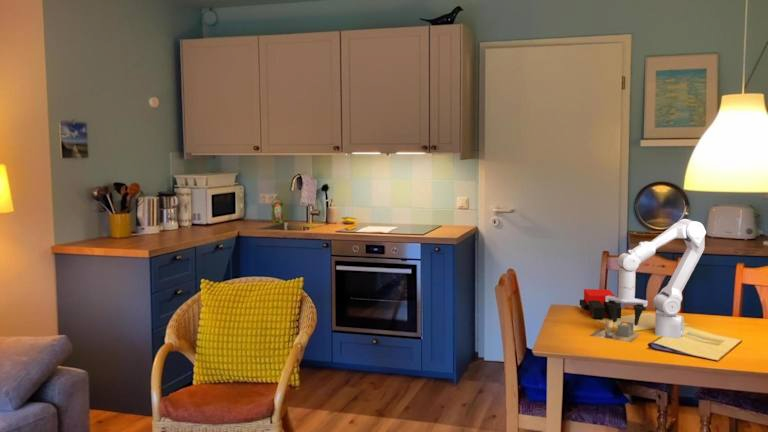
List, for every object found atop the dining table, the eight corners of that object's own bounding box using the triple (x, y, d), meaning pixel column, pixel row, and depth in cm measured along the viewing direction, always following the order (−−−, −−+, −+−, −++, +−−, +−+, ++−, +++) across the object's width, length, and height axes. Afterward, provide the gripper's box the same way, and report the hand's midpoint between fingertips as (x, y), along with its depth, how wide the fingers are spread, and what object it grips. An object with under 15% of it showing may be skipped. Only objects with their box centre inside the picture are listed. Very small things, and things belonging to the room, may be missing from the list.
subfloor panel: (640, 337, 259) (640, 334, 259) (631, 345, 250) (631, 342, 249) (599, 331, 268) (600, 328, 268) (589, 338, 258) (589, 335, 258)
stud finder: (633, 333, 260) (633, 322, 260) (628, 337, 255) (628, 325, 255) (622, 332, 262) (622, 320, 262) (617, 335, 257) (617, 324, 257)
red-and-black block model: (588, 302, 280) (579, 289, 305) (588, 322, 281) (578, 308, 306) (626, 303, 278) (614, 289, 303) (626, 323, 279) (613, 308, 304)
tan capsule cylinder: (613, 336, 256) (613, 320, 255) (611, 338, 254) (611, 322, 253) (606, 335, 258) (606, 319, 257) (604, 337, 255) (604, 321, 255)
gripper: (603, 286, 258) (602, 322, 259) (644, 290, 249) (642, 328, 251) (609, 282, 263) (608, 318, 265) (649, 287, 255) (648, 324, 257)
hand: (625, 323), depth 258 cm, fingers open, 7 cm apart
